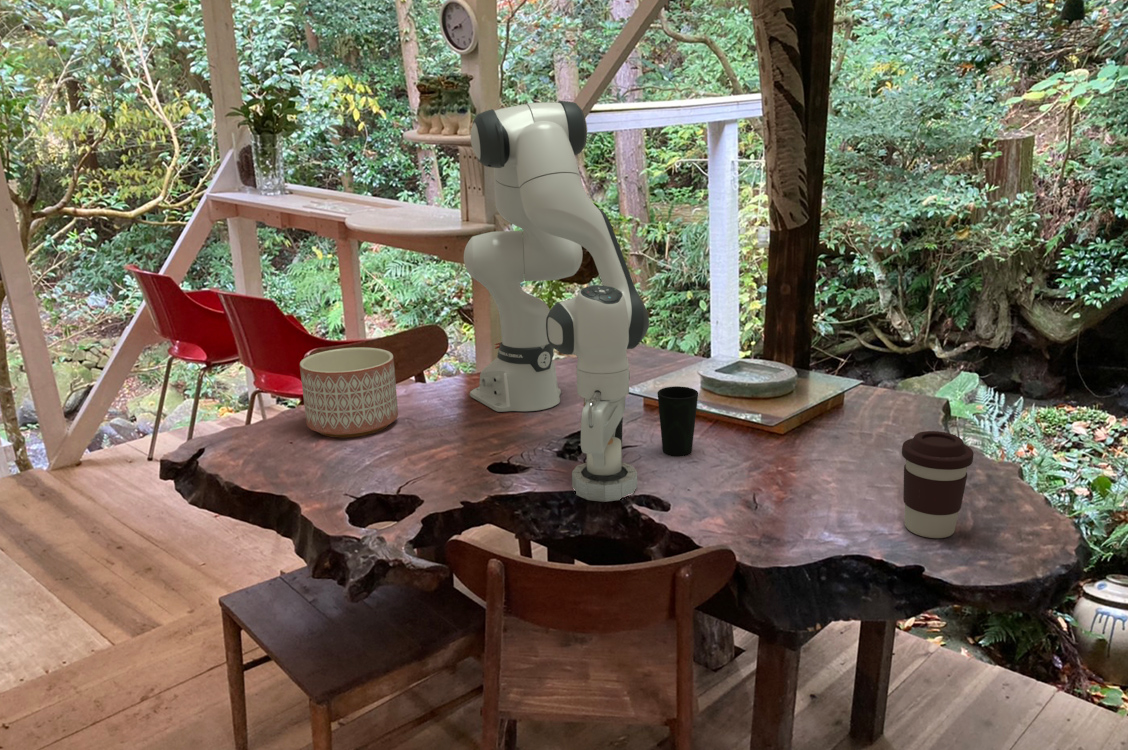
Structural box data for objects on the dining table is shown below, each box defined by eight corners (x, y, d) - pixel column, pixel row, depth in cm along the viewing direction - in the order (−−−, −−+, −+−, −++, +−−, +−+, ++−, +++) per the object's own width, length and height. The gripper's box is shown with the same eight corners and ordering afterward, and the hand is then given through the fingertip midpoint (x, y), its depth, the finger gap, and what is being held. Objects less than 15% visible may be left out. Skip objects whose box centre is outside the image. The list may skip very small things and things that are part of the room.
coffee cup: (893, 511, 142) (901, 424, 137) (959, 518, 139) (969, 429, 135) (897, 539, 133) (905, 447, 128) (968, 547, 130) (979, 452, 126)
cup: (695, 459, 165) (697, 399, 161) (655, 457, 166) (655, 397, 163) (698, 445, 172) (699, 386, 168) (659, 443, 173) (659, 385, 170)
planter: (369, 445, 177) (362, 374, 172) (288, 436, 183) (280, 368, 178) (414, 414, 194) (409, 350, 190) (339, 407, 200) (333, 345, 196)
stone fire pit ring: (560, 488, 154) (559, 472, 153) (604, 470, 161) (604, 455, 160) (604, 507, 146) (604, 490, 145) (649, 487, 153) (649, 471, 152)
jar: (580, 471, 151) (580, 443, 150) (596, 460, 156) (596, 432, 155) (612, 477, 148) (611, 448, 147) (627, 465, 153) (627, 437, 152)
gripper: (609, 403, 137) (610, 484, 141) (631, 367, 156) (631, 440, 160) (570, 401, 139) (572, 481, 143) (596, 366, 158) (598, 438, 162)
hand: (603, 459), depth 152 cm, fingers closed on jar, 6 cm apart
